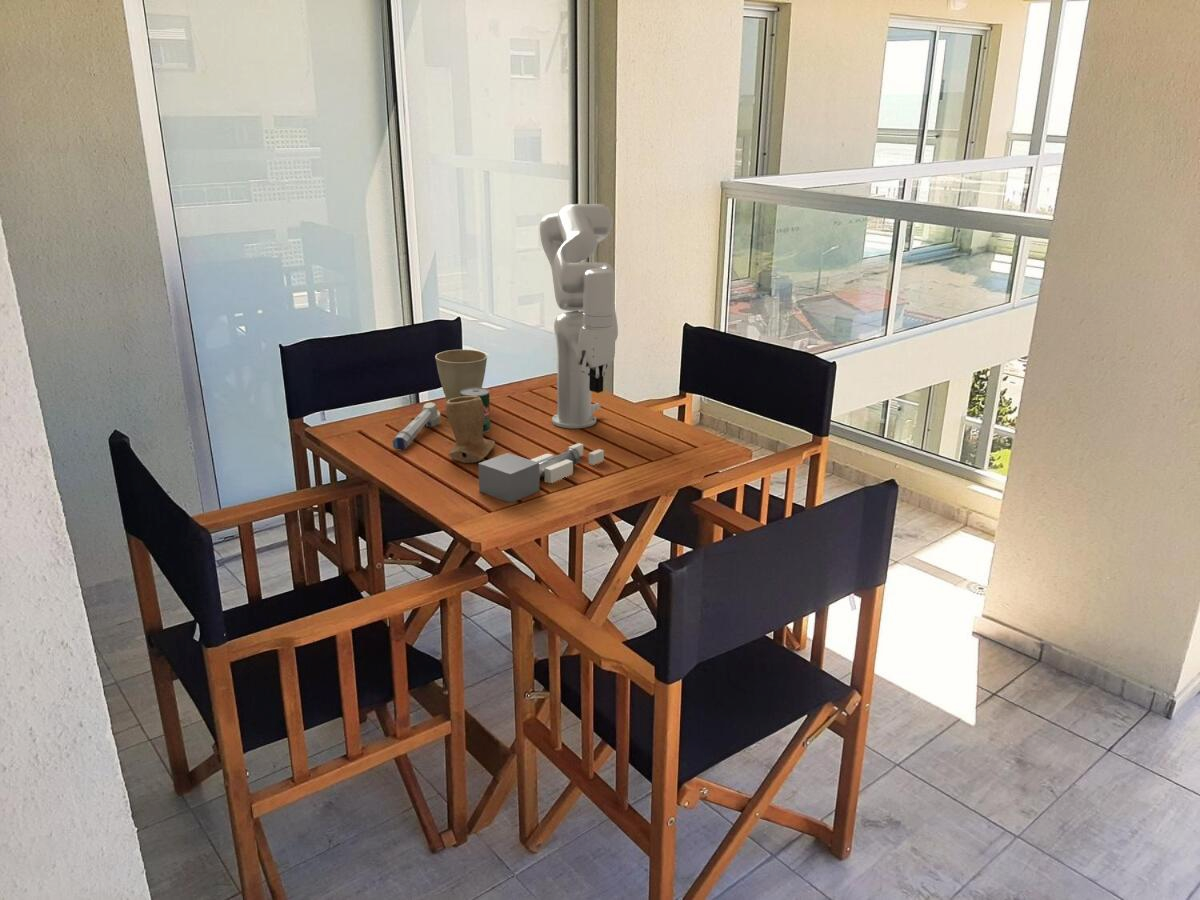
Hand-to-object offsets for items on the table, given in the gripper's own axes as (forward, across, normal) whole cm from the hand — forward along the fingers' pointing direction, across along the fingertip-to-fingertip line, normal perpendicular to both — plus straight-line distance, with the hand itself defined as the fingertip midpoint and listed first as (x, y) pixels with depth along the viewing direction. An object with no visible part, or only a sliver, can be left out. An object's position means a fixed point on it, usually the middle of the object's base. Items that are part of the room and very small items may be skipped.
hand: (596, 390), depth 236 cm
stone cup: (+18, +22, -24) cm, 37 cm away
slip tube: (+16, +22, +1) cm, 27 cm away
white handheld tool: (+19, +21, -45) cm, 53 cm away
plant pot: (+19, -4, -54) cm, 57 cm away
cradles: (+17, +13, +1) cm, 21 cm away
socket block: (+16, +32, +1) cm, 36 cm away
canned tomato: (+18, +7, -37) cm, 42 cm away
